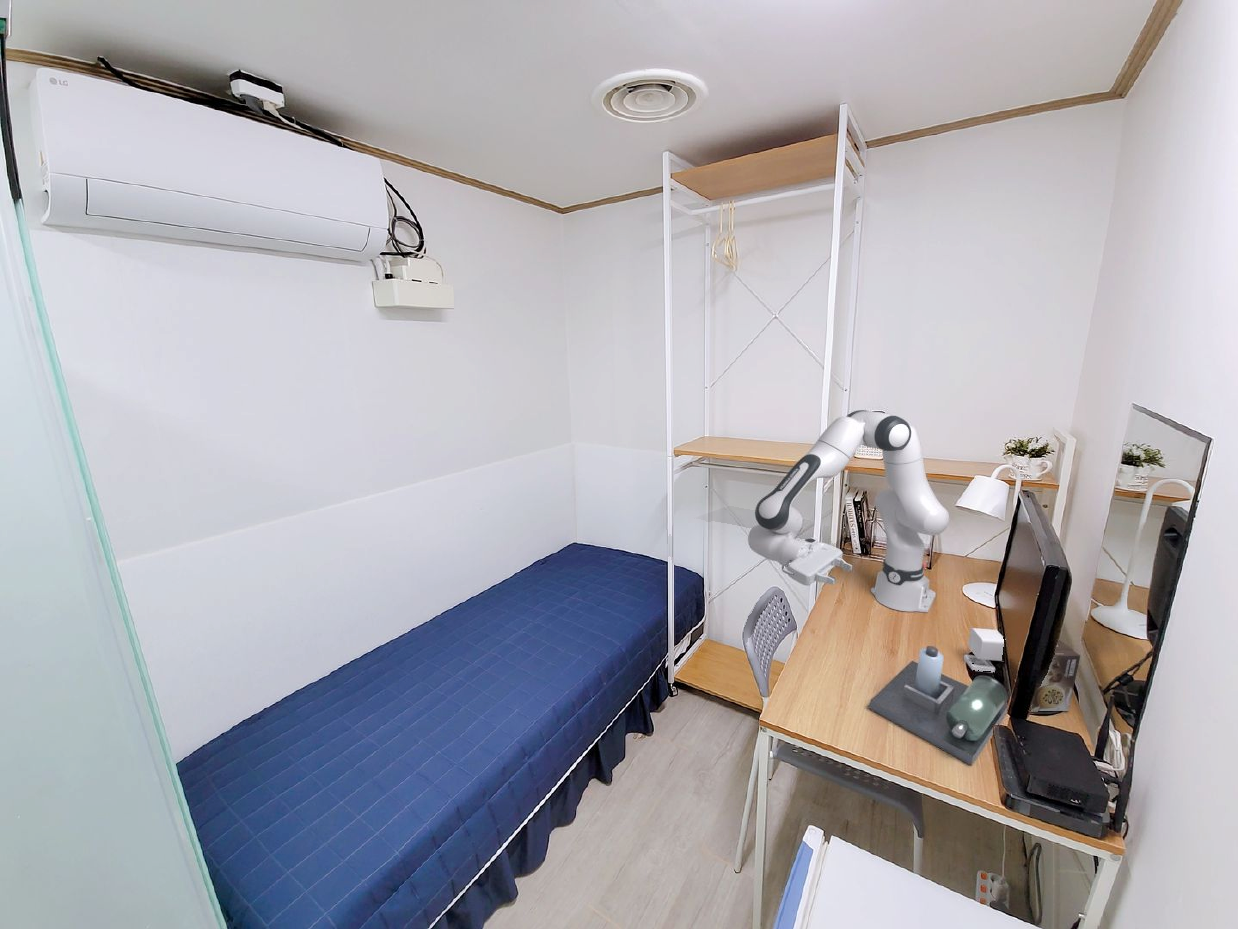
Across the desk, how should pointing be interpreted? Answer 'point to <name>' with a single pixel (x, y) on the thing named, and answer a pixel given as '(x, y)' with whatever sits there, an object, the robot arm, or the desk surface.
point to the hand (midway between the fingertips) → (842, 575)
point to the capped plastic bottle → (929, 671)
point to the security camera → (984, 649)
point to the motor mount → (945, 711)
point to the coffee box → (1058, 681)
